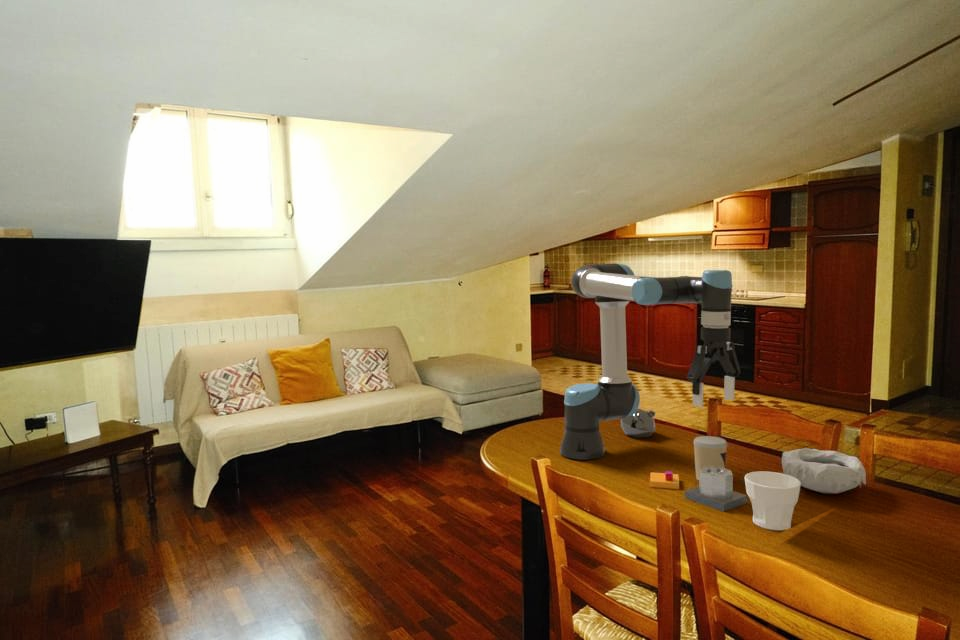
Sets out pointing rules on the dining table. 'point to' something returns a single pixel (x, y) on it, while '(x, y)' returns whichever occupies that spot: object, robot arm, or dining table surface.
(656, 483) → the push button box
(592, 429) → the robot arm
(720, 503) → the shaft block
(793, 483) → the cup
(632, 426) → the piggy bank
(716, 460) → the coffee cup
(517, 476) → the dining table surface
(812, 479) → the bowl
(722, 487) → the block
